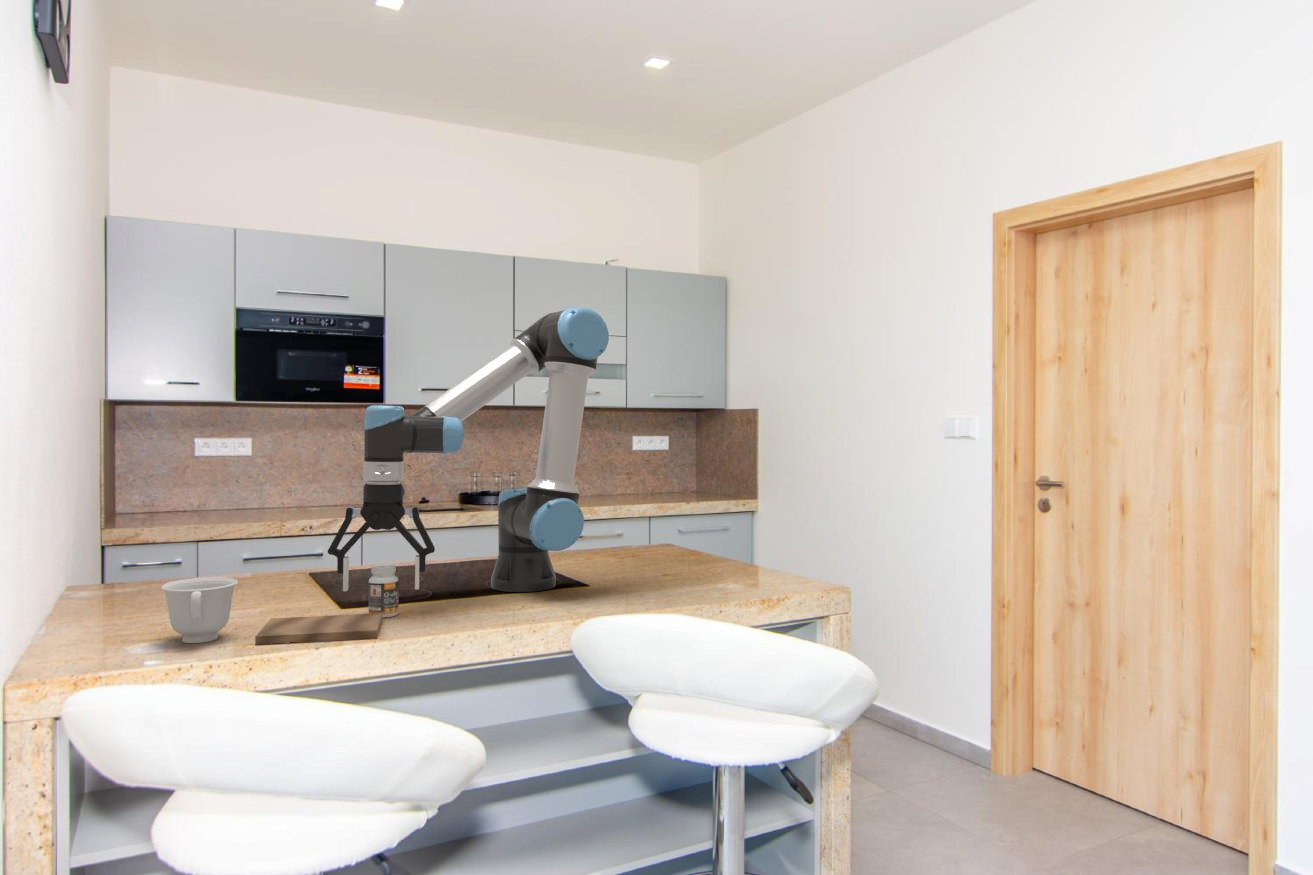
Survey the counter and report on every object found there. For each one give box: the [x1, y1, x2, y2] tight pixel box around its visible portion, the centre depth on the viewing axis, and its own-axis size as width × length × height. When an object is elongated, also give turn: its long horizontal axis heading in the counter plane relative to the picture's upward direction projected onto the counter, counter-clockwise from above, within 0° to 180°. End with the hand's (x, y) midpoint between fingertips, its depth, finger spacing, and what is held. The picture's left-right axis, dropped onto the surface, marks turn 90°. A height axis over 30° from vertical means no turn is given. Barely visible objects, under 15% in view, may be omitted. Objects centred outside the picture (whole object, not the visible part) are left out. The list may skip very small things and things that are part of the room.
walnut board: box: [254, 613, 383, 646], centre depth 158 cm, size 20×14×2 cm
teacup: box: [160, 576, 239, 644], centre depth 151 cm, size 12×15×10 cm
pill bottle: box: [368, 563, 400, 619], centre depth 172 cm, size 6×6×10 cm
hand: (381, 589), depth 171 cm, fingers open, 13 cm apart
